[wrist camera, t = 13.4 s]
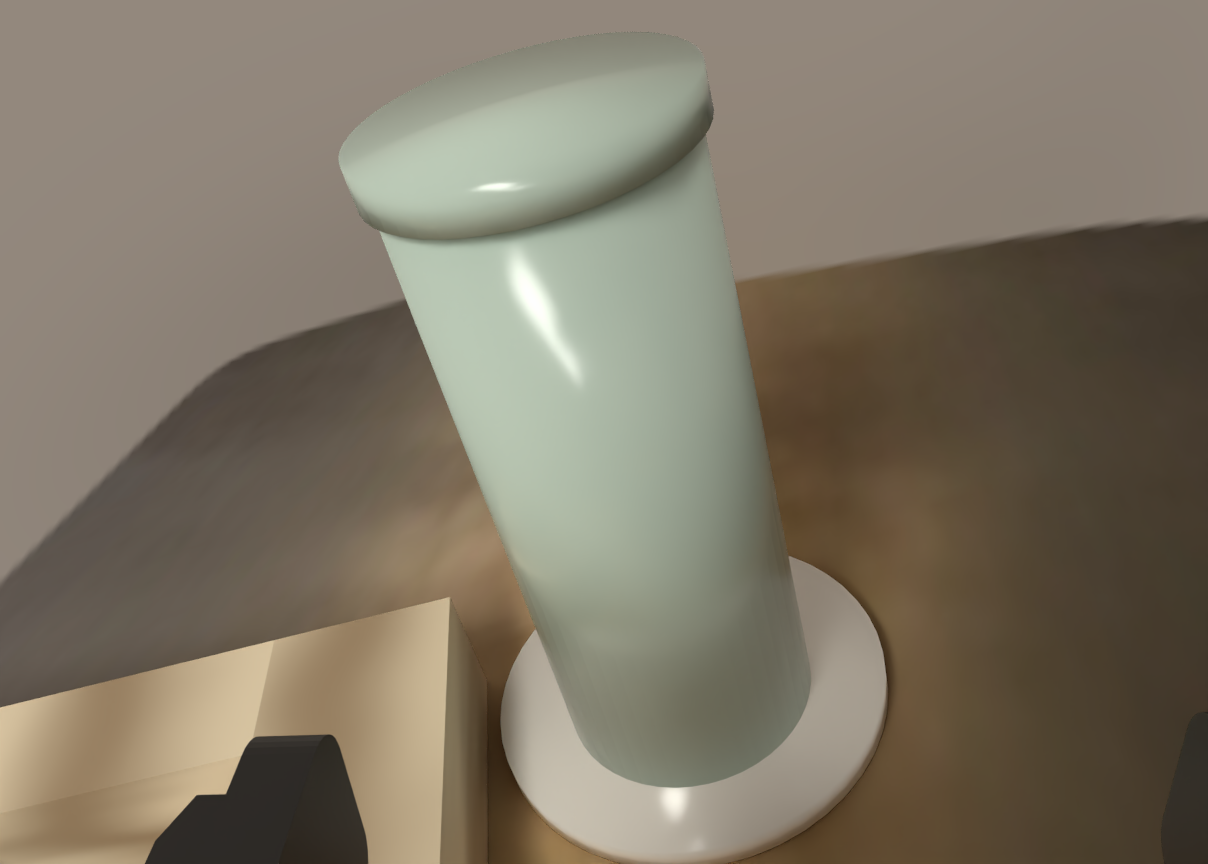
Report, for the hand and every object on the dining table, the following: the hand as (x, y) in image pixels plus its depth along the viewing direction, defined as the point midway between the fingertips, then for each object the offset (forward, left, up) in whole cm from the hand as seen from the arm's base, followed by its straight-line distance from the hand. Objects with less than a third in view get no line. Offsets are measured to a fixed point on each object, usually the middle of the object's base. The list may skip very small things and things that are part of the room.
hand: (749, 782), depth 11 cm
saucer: (+1, -11, -11) cm, 16 cm away
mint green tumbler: (+1, -11, -10) cm, 15 cm away
